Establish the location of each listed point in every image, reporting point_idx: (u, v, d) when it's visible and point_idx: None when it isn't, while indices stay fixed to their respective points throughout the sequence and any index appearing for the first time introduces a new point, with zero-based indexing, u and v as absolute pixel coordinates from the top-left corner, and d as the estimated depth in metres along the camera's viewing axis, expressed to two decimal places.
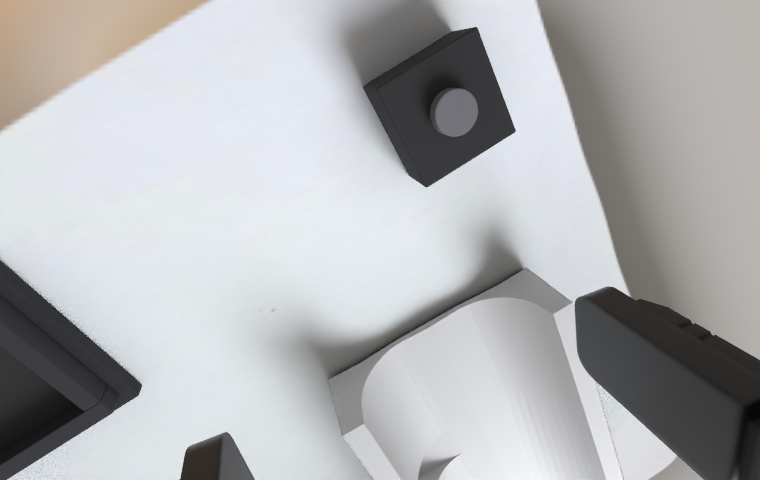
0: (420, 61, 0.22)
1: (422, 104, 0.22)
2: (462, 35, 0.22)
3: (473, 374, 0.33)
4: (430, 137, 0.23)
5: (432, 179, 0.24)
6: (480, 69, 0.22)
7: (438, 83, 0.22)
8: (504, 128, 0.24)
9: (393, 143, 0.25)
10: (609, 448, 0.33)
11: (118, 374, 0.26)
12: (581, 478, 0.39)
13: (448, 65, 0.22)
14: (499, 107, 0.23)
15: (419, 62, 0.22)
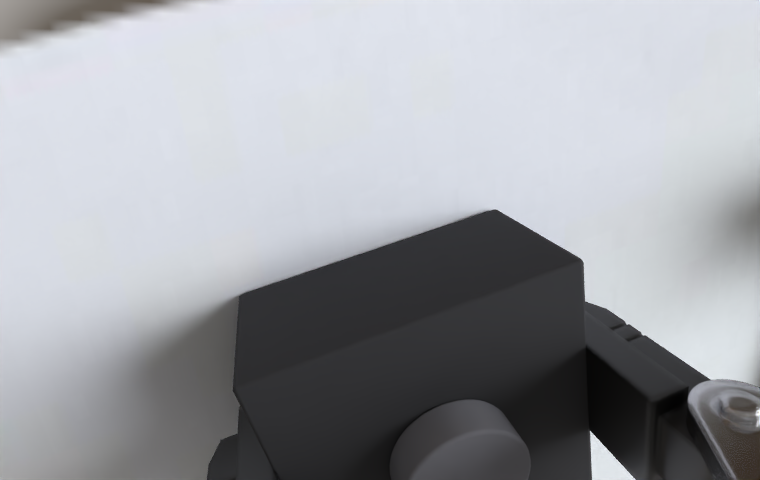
0: None
1: None
2: (251, 423, 0.07)
3: None
4: None
5: (583, 479, 0.09)
6: (365, 375, 0.07)
7: None
8: (559, 297, 0.07)
9: None
10: None
11: None
12: None
13: (330, 462, 0.07)
14: (494, 316, 0.07)
15: None
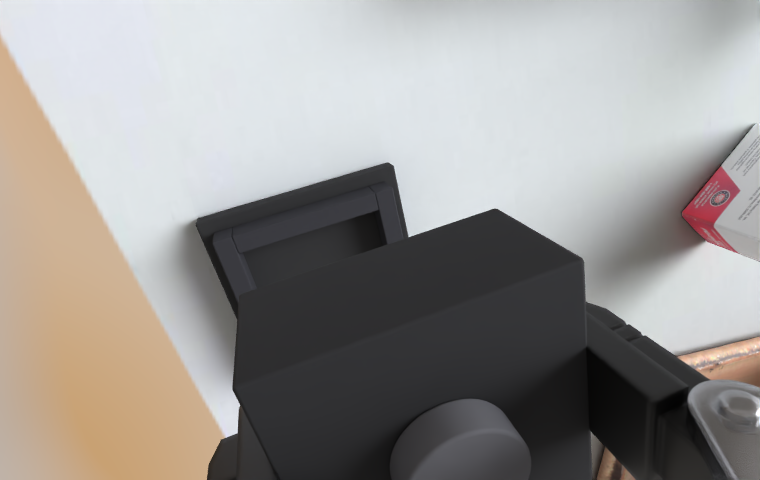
0: None
1: None
2: (251, 422, 0.07)
3: None
4: None
5: (583, 478, 0.09)
6: (364, 374, 0.07)
7: None
8: (560, 296, 0.07)
9: None
10: None
11: (362, 173, 0.24)
12: None
13: (330, 461, 0.07)
14: (494, 315, 0.07)
15: None
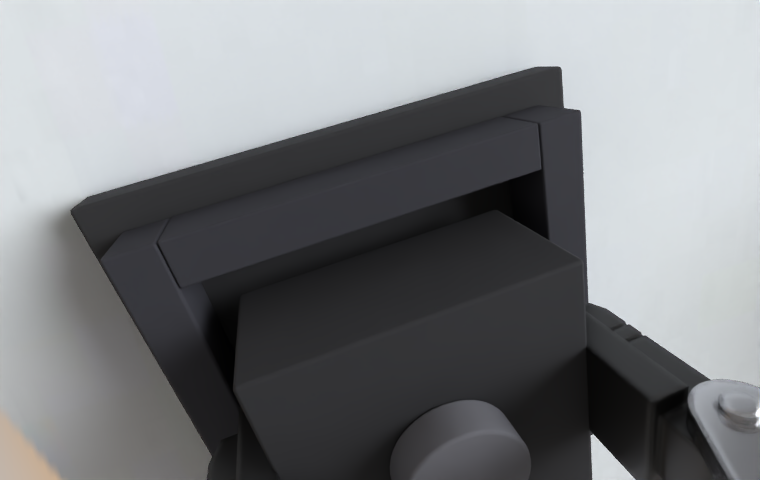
0: None
1: None
2: (251, 423, 0.07)
3: None
4: None
5: (583, 479, 0.09)
6: (365, 375, 0.07)
7: None
8: (560, 297, 0.07)
9: None
10: None
11: (486, 85, 0.10)
12: None
13: (330, 463, 0.07)
14: (494, 316, 0.07)
15: None
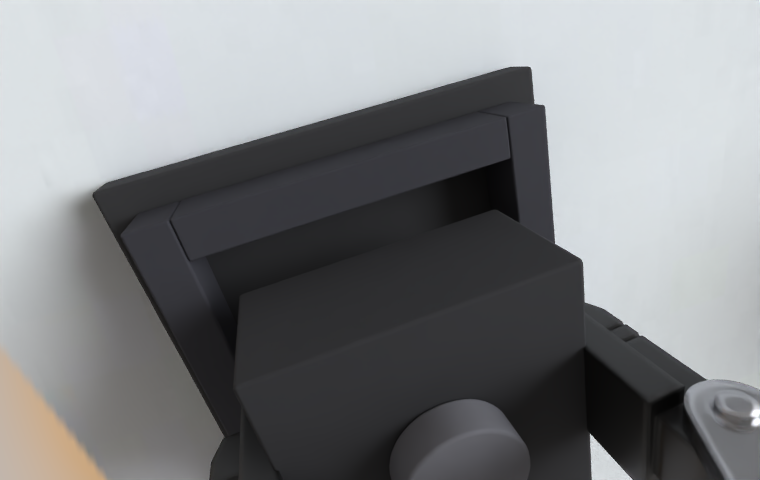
0: None
1: None
2: (251, 422, 0.07)
3: None
4: None
5: (582, 479, 0.09)
6: (364, 375, 0.07)
7: None
8: (559, 297, 0.07)
9: None
10: None
11: (464, 83, 0.11)
12: None
13: (330, 461, 0.07)
14: (494, 315, 0.07)
15: None
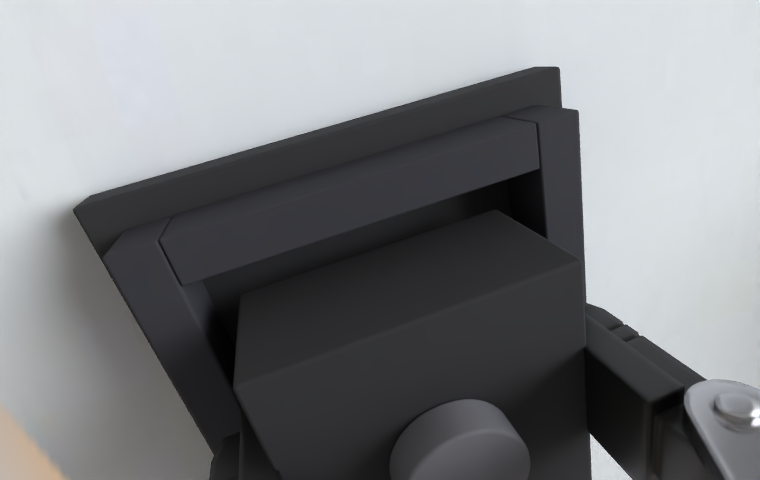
0: None
1: None
2: (252, 422, 0.07)
3: None
4: None
5: (582, 479, 0.09)
6: (365, 375, 0.07)
7: None
8: (559, 297, 0.07)
9: None
10: None
11: (486, 85, 0.10)
12: None
13: (330, 462, 0.07)
14: (493, 316, 0.07)
15: None
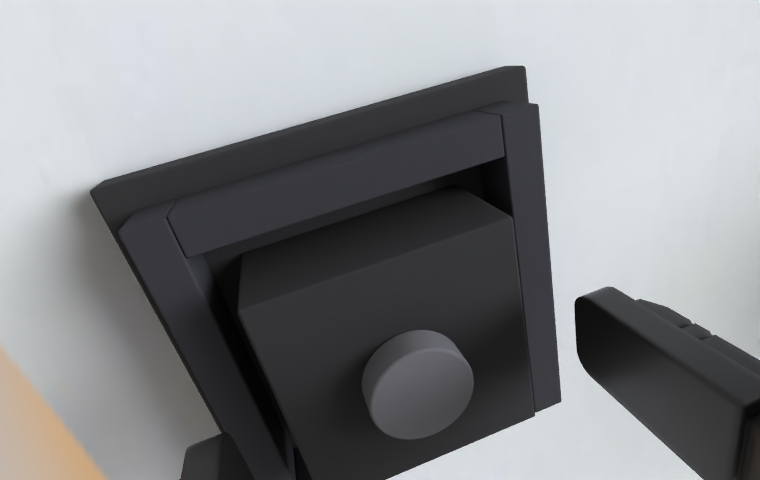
0: (291, 429, 0.10)
1: (378, 428, 0.10)
2: (251, 342, 0.09)
3: None
4: None
5: (526, 407, 0.11)
6: (339, 305, 0.09)
7: (345, 397, 0.10)
8: (495, 247, 0.09)
9: None
10: None
11: (459, 82, 0.11)
12: None
13: (314, 378, 0.09)
14: (442, 260, 0.09)
15: (292, 433, 0.10)
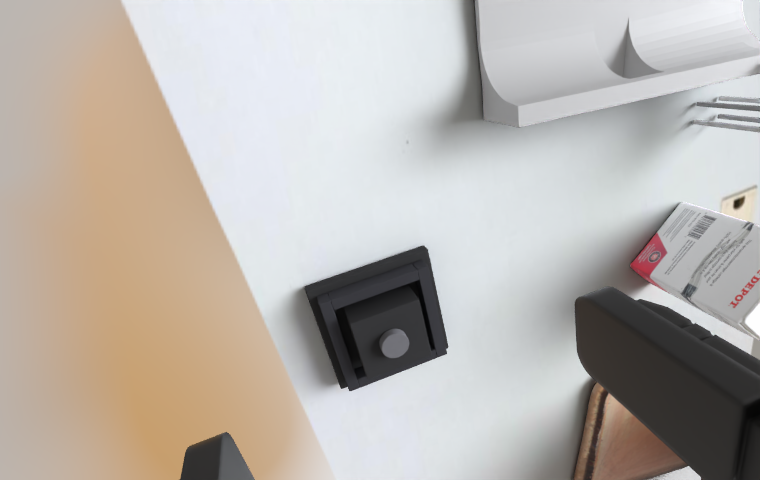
0: (360, 355, 0.36)
1: (383, 356, 0.37)
2: (352, 331, 0.35)
3: None
4: (403, 352, 0.37)
5: (428, 352, 0.38)
6: (374, 322, 0.35)
7: (374, 347, 0.36)
8: (414, 307, 0.36)
9: None
10: None
11: (407, 254, 0.37)
12: None
13: (366, 341, 0.36)
14: (400, 310, 0.35)
15: (360, 356, 0.36)
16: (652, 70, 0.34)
